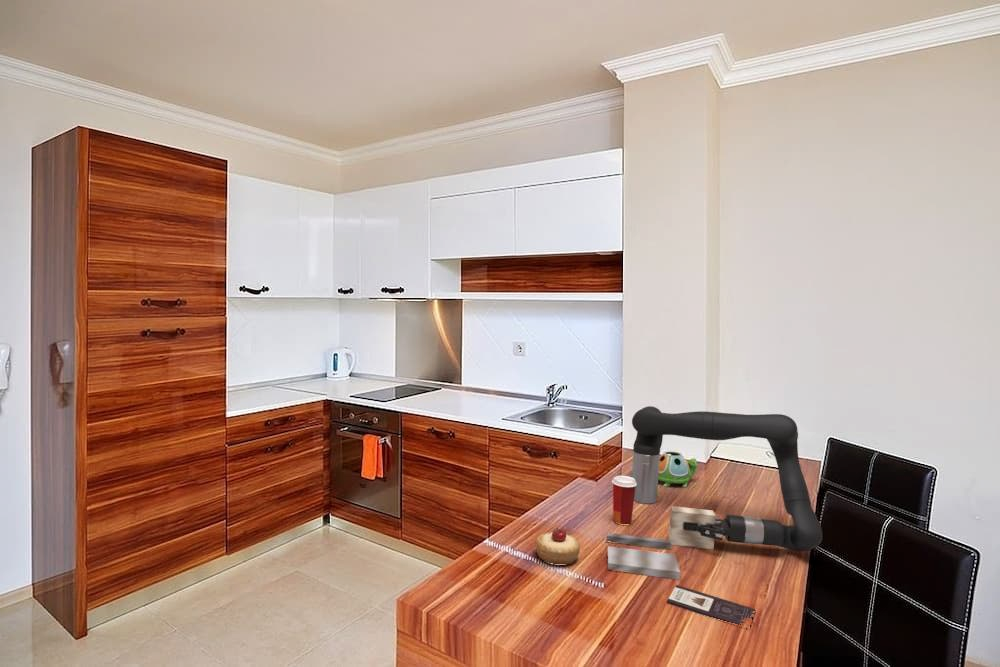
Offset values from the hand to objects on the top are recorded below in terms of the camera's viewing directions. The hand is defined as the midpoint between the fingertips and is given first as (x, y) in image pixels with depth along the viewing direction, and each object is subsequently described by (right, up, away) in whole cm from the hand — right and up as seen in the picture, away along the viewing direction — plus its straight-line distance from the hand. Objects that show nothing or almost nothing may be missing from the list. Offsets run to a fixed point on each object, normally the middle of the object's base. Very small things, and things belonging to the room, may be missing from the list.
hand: (682, 522), depth 161 cm
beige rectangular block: (+2, -6, 0) cm, 7 cm away
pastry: (-38, -6, -12) cm, 41 cm away
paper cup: (-15, -5, +14) cm, 21 cm away
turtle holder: (+15, -3, +55) cm, 57 cm away
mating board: (-15, -6, -10) cm, 19 cm away
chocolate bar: (-5, -9, -33) cm, 35 cm away
